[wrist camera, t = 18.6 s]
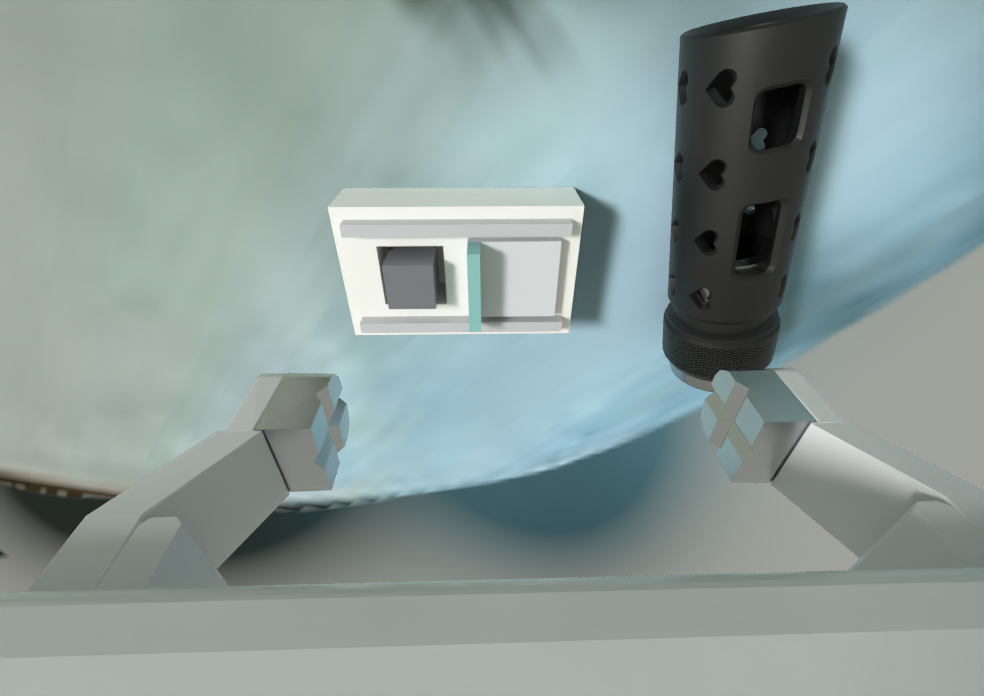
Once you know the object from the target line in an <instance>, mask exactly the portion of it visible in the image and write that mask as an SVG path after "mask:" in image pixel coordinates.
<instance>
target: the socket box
mask: <svg viewBox="0 0 984 696" xmlns="http://www.w3.org/2000/svg"><path fill="white" fill-rule="evenodd" d="M328 211H329V216H330V220H331V225H332V229H333V234H334V239H335V243H336V248H337V252H338V257H339V261H340V266H341V271H342V275H343V280H344V284H345V289H346V293H347V298H348V303H349V307H350V312H351V316H352V321H353V326H354V330H355V335H405V334H509V333H569V326H570V318H571V310H572V302H573V294H574V286H575V278H576V270H577V262H578V254H579V246H580V238H581V230H582V222H583V214H584V204H583V202H582V201H581V199H580V197H579V195H578V194H577V192H576V190H575V189H574V187H499V188H344V189H343V190H342V191H341V192H340V193H339V195H338V196H337V197H336V198H335V199H334V200H333V202H332V203H331V204H330V205H329V206H328ZM468 238H561V241H562V243H561V253H560V263H559V273H558V284H557V294H556V304H555V314H554V316H511V317H481V332H469V306H468V277H467V243H468ZM390 246H437V257H438V271H439V284H440V288H439V294H438V300H437V306H436V309H389V307H388V301H387V295H386V288H385V282H384V275H383V269H382V265H383V262H384V260H385V258H386V255H387V253H388V251H389V248H390Z"/></svg>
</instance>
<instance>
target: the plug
mask: <svg viewBox="0 0 984 696" xmlns="http://www.w3.org/2000/svg"><path fill="white" fill-rule="evenodd" d="M382 269H383V275H384V282H385V288H386V295H387V301H388V307H389V309H436V306H437V300H438V294H439V288H440V284H439V271H438V257H437V246H390V248H389V251H388V253H387V255H386V258H385V260H384V262H383V265H382Z"/></svg>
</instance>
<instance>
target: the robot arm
mask: <svg viewBox="0 0 984 696" xmlns="http://www.w3.org/2000/svg"><path fill="white" fill-rule="evenodd" d="M711 384H712V386H713V388H714V390H715V392H713V393H712V394H711V395H709V396H708V397H707V398H706V399H705V400H704V403H703V406H702V409H701V424H702V427H703V431H704V433H705V435H706V437H707V439H708V440H709V441H710V442H712V443H713V444H714V445H716V446H717V447H719V448H720V450H719V453H718V456H717V457H718V459H719V461H720V462H721V464H722V466H723V468H724V470H725V471H726V473H727V475H728V477H729V479H730V480H731V482H754V483H759V482H761V483H772V484H771V485H772V486H774V487H775V488H776V489H777V490H778V491H780V492H781V493H782V494H783V495H784V496H786V497H787V498H788V499H789V500H790V501H792V502H793V503H794V504H795V505H796V506H798V507H799V508H800V509H801V510H802V511H804V512H805V513H806V514H807V515H808V516H810V517H811V518H812V519H813V520H815V521H816V522H817V523H818V524H819V525H821V526H822V527H823V528H824V529H825V530H827V531H828V532H829V533H830V534H831V535H833V536H834V537H835V538H836V539H837V540H839V541H840V542H841V543H842V544H843V545H845V546H846V547H847V548H848V549H849V550H851V551H852V552H853V553H854V554H855V555H857V556H858V557H859V558H860V559H859V560H858V561H857V562H856V563H855V564H854V565H853V566H852V567H851V568H850V569H849V570H848V571H815V572H814V571H813V572H812V571H811V572H774V573H773V572H772V573H735V574H699V575H697V574H695V575H656V576H618V577H579V578H542V579H508V580H507V579H505V580H470V581H469V580H467V581H429V582H390V583H389V582H388V583H350V584H314V585H313V584H311V585H271V586H235V587H233V586H232V587H229V586H228V584H227V583H226V582H225V580H224V579H223V578H222V576H221V575H220V574H219V572H218V571H217V570H216V569H217V568H218V567H219V566H220V565H221V564H222V563H223V562H224V561H225V560H226V559H227V558H228V557H229V556H230V555H231V554H232V553H233V552H234V551H235V550H236V549H237V547H239V546H240V545H241V544H242V543H243V542H244V540H246V538H247V537H248V536H249V535H250V534H251V533H252V532H253V531H254V530H255V529H256V528H257V527H258V526H259V525H260V524H261V523H262V522H263V521H264V520H265V519H266V518H267V517H268V516H269V515H270V514H271V513H272V512H273V511H274V510H275V509H276V508H277V507H278V506H279V504H280V503H281V502H282V501H283V500H284V499H285V498H286V497H287V496H288V495H289V492H297V491H319V490H332V487H333V483H334V480H335V477H336V474H337V470H338V467H339V464H340V462H339V459H338V456H337V453H338V452H339V451H340V450H341V449H342V448H343V447H344V446H345V444H346V440H347V437H348V429H349V415H348V409H347V405H346V403H345V402H344V401H343V400H341V399H340V398H339V396H340V393H341V390H342V386H341V383H340V379H339V376H337V375H336V374H298V373H288V374H262V375H260V376H259V377H258V378H257V379H256V380H255V382H254V384H253V385H252V387H251V389H250V390H249V392H248V394H247V395H246V397H245V399H244V400H243V402H242V404H241V405H240V407H239V409H238V410H237V412H236V414H235V415H234V417H233V418H232V420H231V422H230V423H229V425H228V427H227V428H226V430H225V431H217V432H215V433H214V434H212V435H211V436H209V437H208V438H206V439H204V440H203V441H201V442H200V443H198V444H197V445H195V446H194V447H192V448H191V449H189V450H187V451H186V452H184V453H183V454H181V455H180V456H178V457H177V458H175V459H174V460H172V461H170V462H169V463H167V464H166V465H164V466H163V467H161V468H160V469H158V470H157V471H155V472H153V473H152V474H150V475H149V476H147V477H146V478H144V479H143V480H141V481H140V482H138V483H136V484H135V485H133V486H132V487H130V488H129V489H127V490H126V491H124V492H122V493H121V494H119V495H118V496H116V497H115V498H113V499H112V500H110V501H109V502H107V503H105V504H104V505H102V506H101V507H99V508H98V509H96V510H95V511H93V512H92V513H90V514H89V515H87V516H86V517H85V518H84V519H83V520H82V522H81V523H80V524H79V526H78V527H77V528H76V529H75V531H74V532H73V533H72V535H71V536H70V537H69V538H68V540H67V541H66V542H65V543H64V545H63V546H62V547H61V549H60V550H59V551H58V553H57V554H56V555H55V556H54V558H53V559H52V560H51V562H50V563H49V564H48V565H47V567H46V568H45V569H44V571H43V572H42V573H41V574H40V576H39V577H38V578H37V579H36V581H35V582H34V583H33V585H32V586H31V587H30V588H29V590H28V591H27V592H0V696H984V490H982V489H980V488H978V487H976V486H974V485H972V484H970V483H968V482H966V481H965V480H963V479H961V478H959V477H957V476H955V475H953V474H951V473H949V472H947V471H945V470H943V469H942V468H940V467H938V466H936V465H934V464H932V463H930V462H928V461H926V460H924V459H922V458H921V457H919V456H917V455H914V454H913V453H911V452H909V451H907V450H905V449H903V448H901V447H899V446H897V445H896V444H894V443H891V442H890V441H888V440H886V439H884V438H882V437H880V436H878V435H876V434H874V433H872V432H870V431H869V430H867V429H865V428H863V427H861V426H859V425H857V424H855V423H853V422H844V421H843V420H842V418H841V417H840V416H839V415H838V414H837V413H836V412H835V411H834V410H833V409H832V408H831V406H830V405H829V404H828V403H827V402H826V401H825V400H824V399H823V398H822V397H821V396H820V394H819V393H818V392H817V391H816V390H815V389H814V388H813V387H812V386H811V385H810V384H809V382H808V381H807V380H806V379H805V378H804V377H803V376H802V375H801V374H800V372H799V371H797V370H795V369H793V368H767V369H733V370H720V371H719V372H718V373H717V374H716V375H715V377H714V379H713V381H712V383H711Z"/></svg>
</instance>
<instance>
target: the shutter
mask: <svg viewBox="0 0 984 696" xmlns="http://www.w3.org/2000/svg"><path fill="white" fill-rule="evenodd" d="M561 243H562V241H561V238H468V243H467V277H468V306H469V332H481V317H511V316H554V314H555V304H556V294H557V284H558V273H559V263H560V253H561Z"/></svg>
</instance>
